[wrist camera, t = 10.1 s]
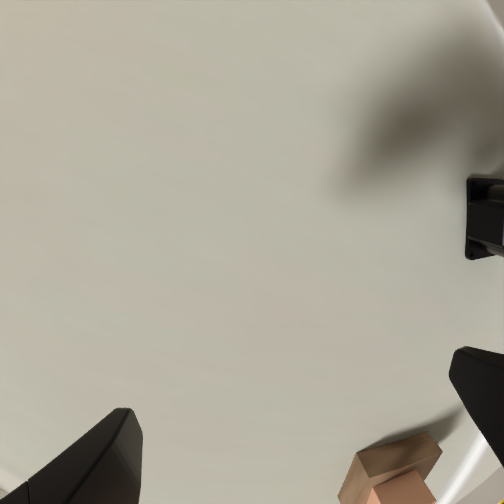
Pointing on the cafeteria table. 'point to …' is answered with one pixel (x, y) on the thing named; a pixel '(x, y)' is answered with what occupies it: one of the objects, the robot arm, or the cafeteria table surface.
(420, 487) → the terracotta block
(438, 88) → the cafeteria table surface
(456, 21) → the cafeteria table surface
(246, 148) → the cafeteria table surface
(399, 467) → the walnut block
